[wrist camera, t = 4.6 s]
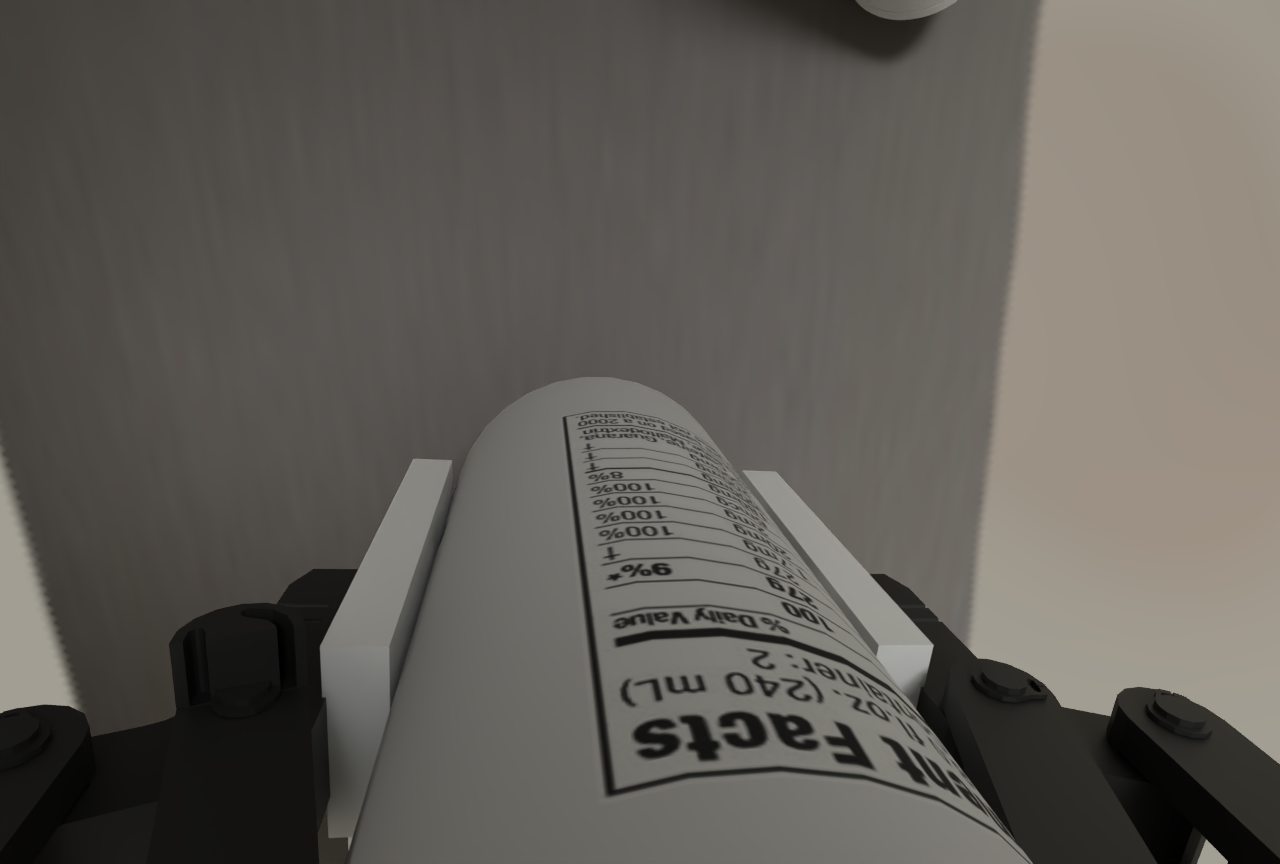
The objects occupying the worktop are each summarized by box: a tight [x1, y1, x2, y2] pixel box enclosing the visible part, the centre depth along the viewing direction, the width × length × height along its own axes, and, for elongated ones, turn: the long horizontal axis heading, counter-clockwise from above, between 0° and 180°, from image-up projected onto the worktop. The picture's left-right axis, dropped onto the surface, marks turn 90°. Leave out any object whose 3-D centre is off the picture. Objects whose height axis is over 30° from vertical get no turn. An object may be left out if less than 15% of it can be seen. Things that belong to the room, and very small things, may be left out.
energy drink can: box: [345, 377, 1033, 864], centre depth 10 cm, size 6×6×15 cm
